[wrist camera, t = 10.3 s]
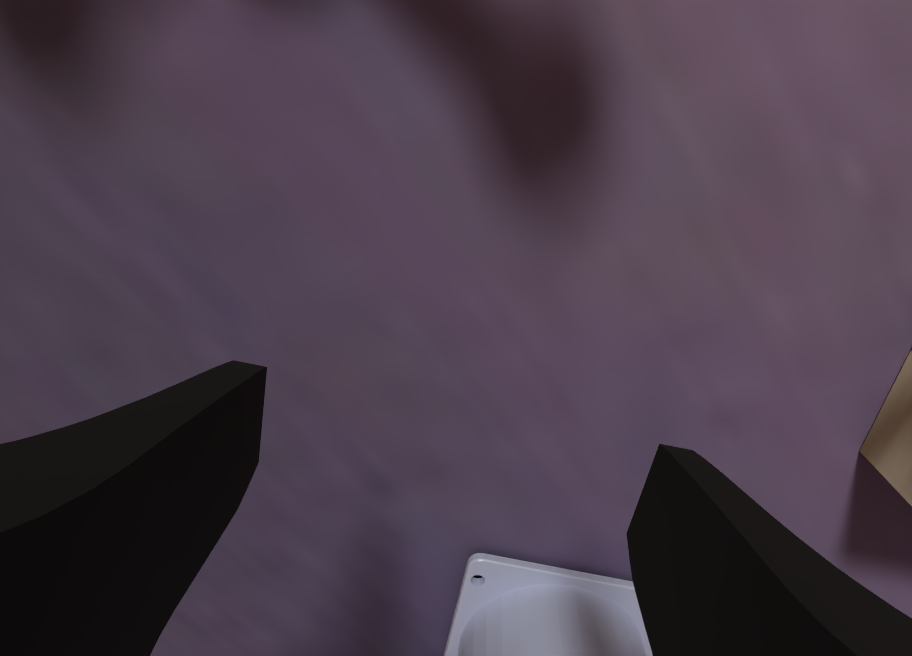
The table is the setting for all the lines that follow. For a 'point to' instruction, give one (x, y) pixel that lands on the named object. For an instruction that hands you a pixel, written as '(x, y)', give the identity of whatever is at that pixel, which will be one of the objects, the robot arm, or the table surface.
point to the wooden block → (894, 435)
